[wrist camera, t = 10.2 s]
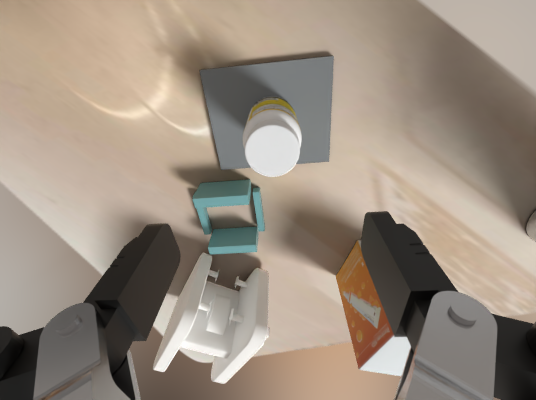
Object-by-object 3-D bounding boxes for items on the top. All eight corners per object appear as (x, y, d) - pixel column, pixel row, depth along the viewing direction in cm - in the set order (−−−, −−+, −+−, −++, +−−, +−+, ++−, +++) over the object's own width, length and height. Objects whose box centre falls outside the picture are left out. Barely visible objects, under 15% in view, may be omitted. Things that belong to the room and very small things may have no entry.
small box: (356, 238, 34) (395, 333, 23) (398, 247, 34) (456, 343, 23) (333, 276, 38) (357, 371, 27) (371, 283, 39) (409, 378, 28)
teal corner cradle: (258, 178, 29) (256, 194, 26) (265, 232, 33) (264, 251, 30) (192, 183, 29) (183, 199, 26) (208, 236, 34) (202, 254, 31)
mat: (332, 55, 22) (333, 56, 21) (327, 159, 27) (328, 161, 27) (200, 69, 23) (199, 70, 22) (222, 167, 28) (221, 169, 28)
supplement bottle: (278, 151, 26) (280, 192, 19) (240, 127, 25) (226, 162, 18) (305, 112, 24) (319, 143, 17) (264, 84, 23) (261, 104, 16)
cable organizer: (206, 239, 34) (180, 317, 25) (273, 264, 37) (272, 344, 27) (177, 296, 42) (148, 374, 32) (234, 314, 44) (223, 391, 35)
